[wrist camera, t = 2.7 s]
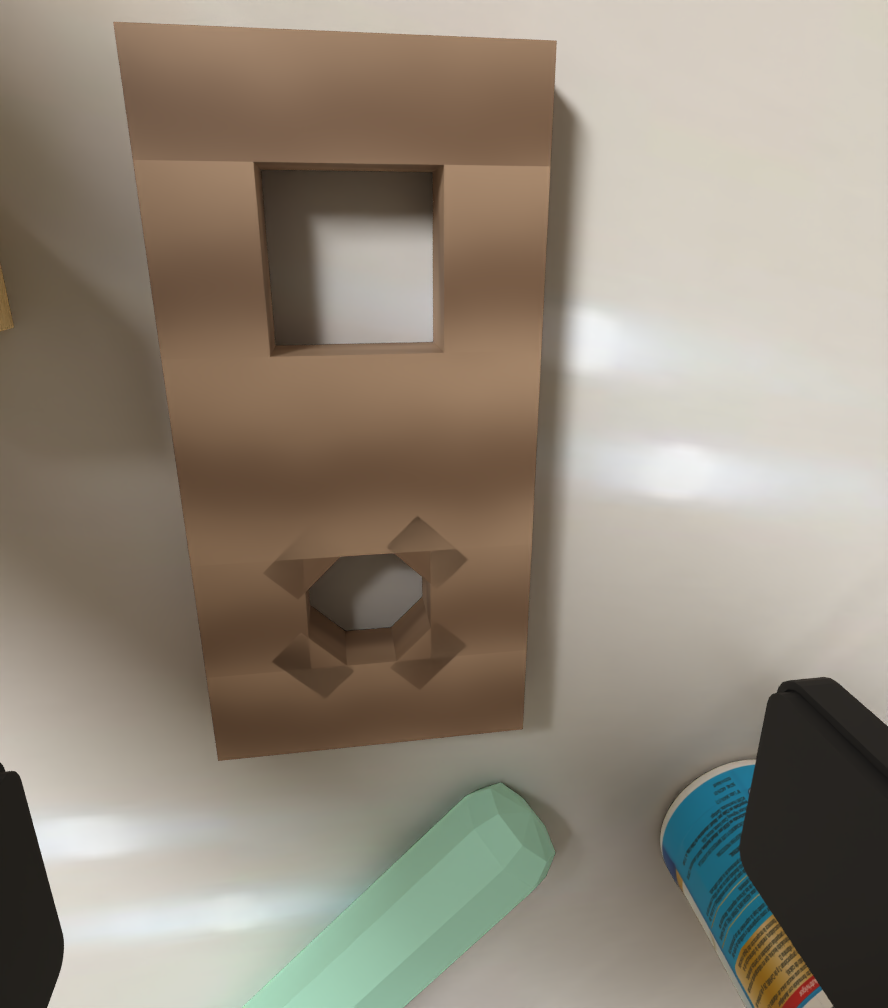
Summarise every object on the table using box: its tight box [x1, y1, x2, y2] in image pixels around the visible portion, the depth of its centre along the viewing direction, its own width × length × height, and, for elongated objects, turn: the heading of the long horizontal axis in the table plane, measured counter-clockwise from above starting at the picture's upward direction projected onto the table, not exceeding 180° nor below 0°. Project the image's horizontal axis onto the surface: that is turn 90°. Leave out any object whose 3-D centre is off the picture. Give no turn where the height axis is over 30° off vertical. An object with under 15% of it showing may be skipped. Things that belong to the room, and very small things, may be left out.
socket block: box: [113, 22, 557, 761], centre depth 25 cm, size 24×12×2 cm, turn 0°
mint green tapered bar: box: [242, 783, 555, 1008], centre depth 33 cm, size 6×6×25 cm
